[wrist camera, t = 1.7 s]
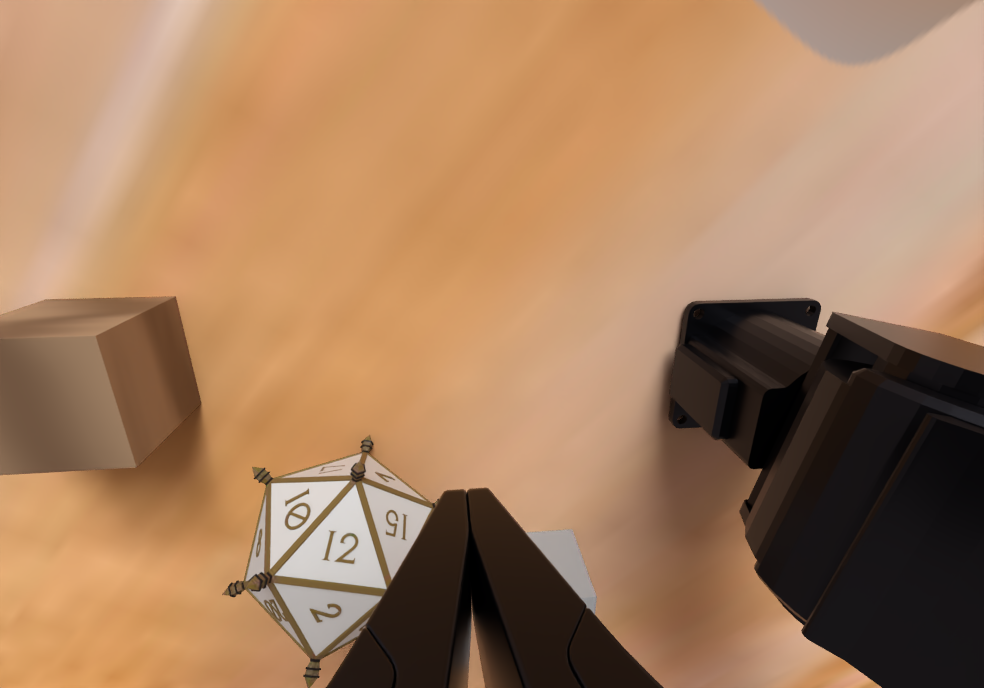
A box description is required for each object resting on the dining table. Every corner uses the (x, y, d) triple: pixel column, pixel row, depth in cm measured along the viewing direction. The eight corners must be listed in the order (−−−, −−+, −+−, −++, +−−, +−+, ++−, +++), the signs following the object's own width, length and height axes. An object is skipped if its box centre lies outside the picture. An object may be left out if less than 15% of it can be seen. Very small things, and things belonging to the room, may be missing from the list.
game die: (376, 474, 28) (331, 680, 23) (240, 419, 23) (137, 673, 17) (496, 449, 23) (475, 705, 18) (357, 372, 18) (265, 706, 12)
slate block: (571, 528, 26) (596, 596, 22) (567, 589, 28) (589, 664, 24) (491, 534, 26) (500, 605, 22) (491, 595, 28) (500, 672, 23)
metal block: (176, 296, 20) (95, 335, 15) (202, 402, 22) (136, 467, 17) (47, 299, 19) (-78, 341, 15) (84, 407, 21) (-17, 476, 16)
